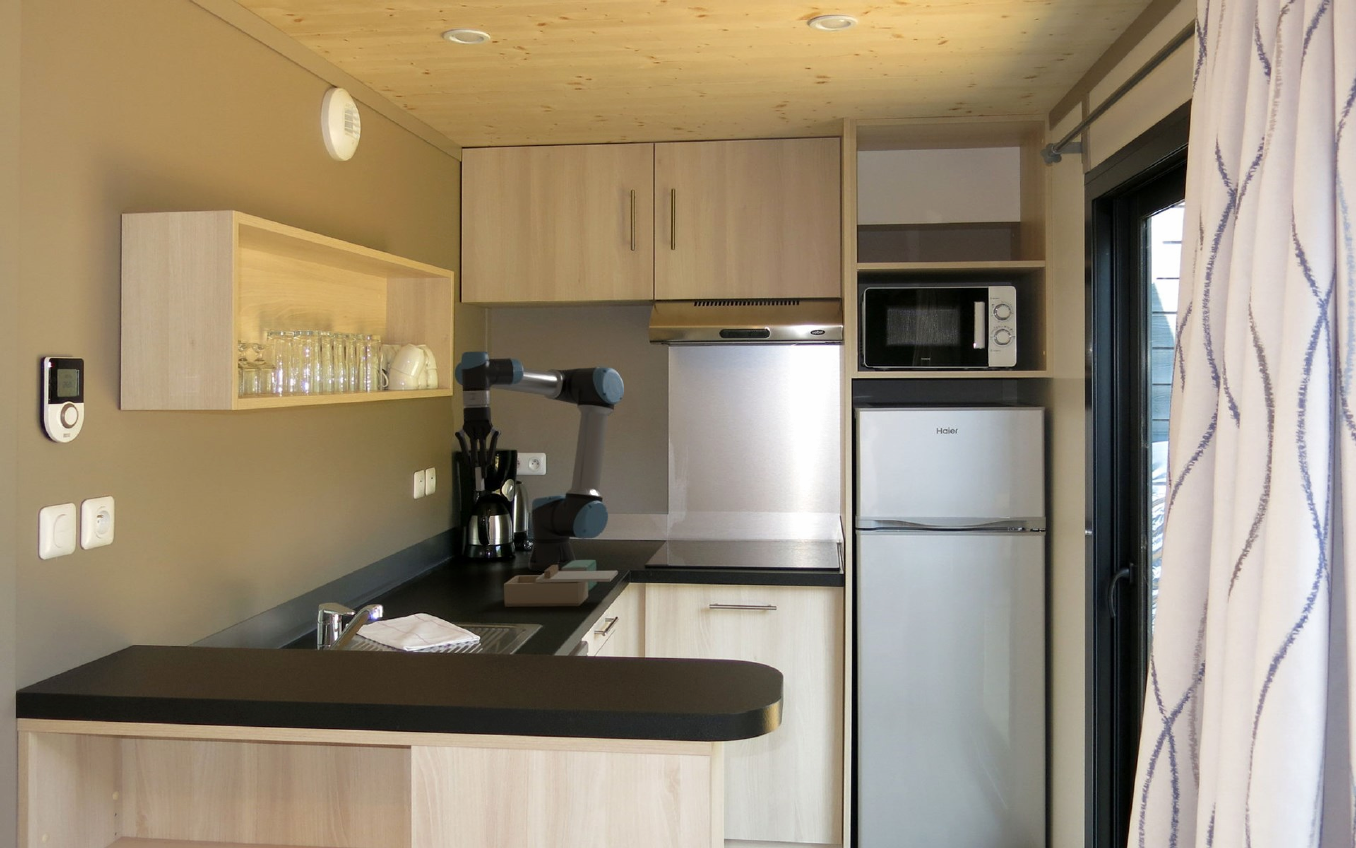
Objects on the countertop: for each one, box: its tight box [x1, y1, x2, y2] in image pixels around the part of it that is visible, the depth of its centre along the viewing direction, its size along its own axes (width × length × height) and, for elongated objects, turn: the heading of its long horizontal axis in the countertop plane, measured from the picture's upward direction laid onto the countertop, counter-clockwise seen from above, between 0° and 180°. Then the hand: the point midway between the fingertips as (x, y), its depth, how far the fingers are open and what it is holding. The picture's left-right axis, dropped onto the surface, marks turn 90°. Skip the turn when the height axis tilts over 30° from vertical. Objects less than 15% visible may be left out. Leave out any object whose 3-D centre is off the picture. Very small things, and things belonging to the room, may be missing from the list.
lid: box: [535, 565, 619, 583], centre depth 273 cm, size 11×20×3 cm, turn 83°
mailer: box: [503, 574, 589, 608], centre depth 274 cm, size 12×20×6 cm, turn 83°
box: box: [561, 559, 598, 592], centre depth 290 cm, size 7×14×8 cm, turn 173°
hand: (480, 490), depth 286 cm, fingers closed
